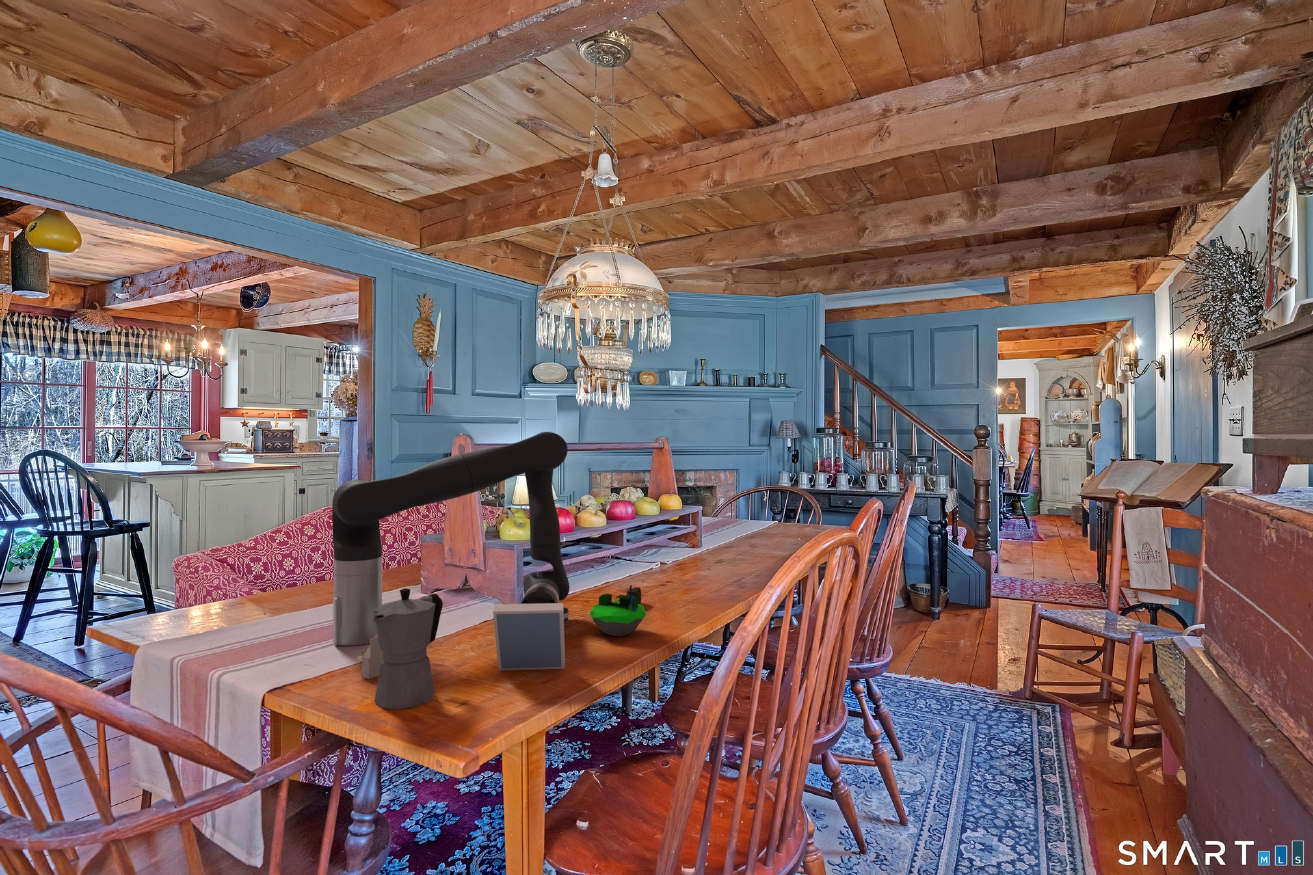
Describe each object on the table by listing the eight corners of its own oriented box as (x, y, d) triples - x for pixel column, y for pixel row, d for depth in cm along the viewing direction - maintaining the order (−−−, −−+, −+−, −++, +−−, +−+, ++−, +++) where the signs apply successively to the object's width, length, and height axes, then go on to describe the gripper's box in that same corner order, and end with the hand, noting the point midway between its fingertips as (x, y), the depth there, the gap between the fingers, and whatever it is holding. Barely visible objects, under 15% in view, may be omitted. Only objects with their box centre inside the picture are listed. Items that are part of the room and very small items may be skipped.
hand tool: (614, 624, 153) (614, 603, 153) (599, 621, 155) (599, 601, 155) (650, 605, 170) (650, 586, 170) (636, 603, 172) (636, 585, 172)
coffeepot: (398, 719, 102) (398, 600, 102) (351, 709, 105) (351, 594, 105) (463, 683, 116) (463, 579, 116) (419, 676, 119) (419, 575, 119)
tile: (498, 671, 122) (492, 612, 116) (499, 662, 124) (494, 604, 118) (564, 669, 123) (562, 610, 117) (565, 661, 125) (563, 603, 119)
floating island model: (654, 631, 147) (655, 581, 147) (626, 645, 137) (627, 591, 137) (608, 623, 153) (609, 575, 153) (578, 636, 143) (579, 584, 143)
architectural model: (355, 678, 120) (355, 636, 120) (386, 666, 126) (386, 626, 126) (369, 681, 118) (369, 639, 118) (399, 668, 125) (399, 628, 125)
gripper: (508, 586, 140) (495, 608, 122) (572, 585, 141) (568, 607, 123) (508, 622, 140) (495, 649, 122) (572, 621, 141) (568, 647, 123)
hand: (532, 628), depth 123 cm, fingers closed
